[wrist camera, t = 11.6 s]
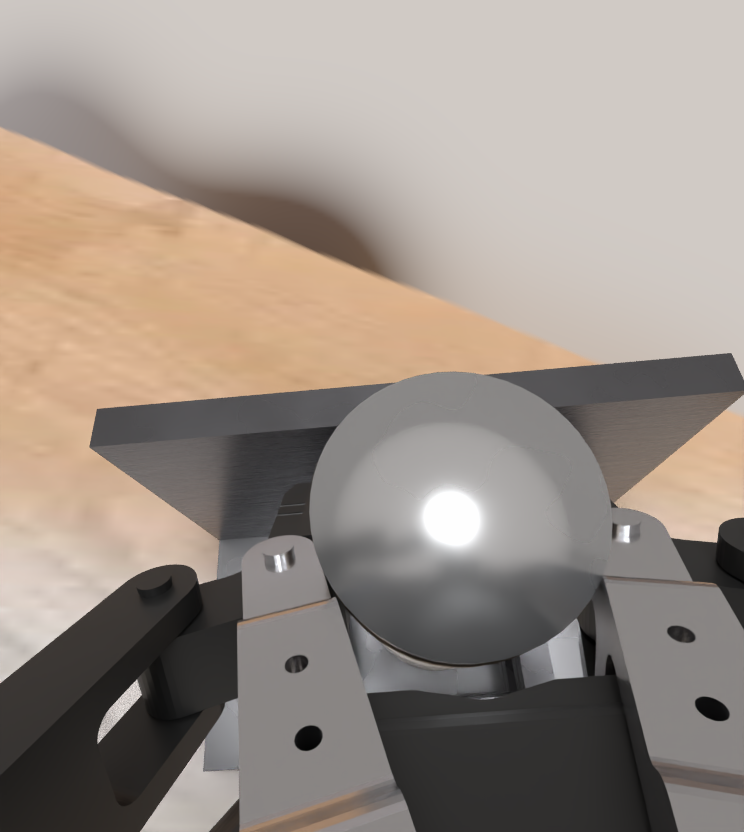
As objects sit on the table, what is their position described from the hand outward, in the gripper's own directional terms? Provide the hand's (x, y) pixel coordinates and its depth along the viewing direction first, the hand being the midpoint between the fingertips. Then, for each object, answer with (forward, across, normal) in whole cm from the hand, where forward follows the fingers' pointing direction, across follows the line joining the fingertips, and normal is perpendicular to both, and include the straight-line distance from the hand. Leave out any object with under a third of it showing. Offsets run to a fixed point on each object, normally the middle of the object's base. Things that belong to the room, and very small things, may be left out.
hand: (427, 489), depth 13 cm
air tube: (+2, 0, +5) cm, 5 cm away
